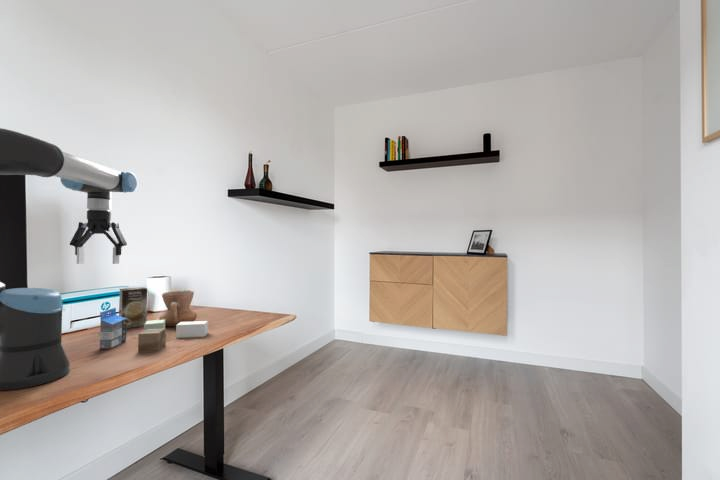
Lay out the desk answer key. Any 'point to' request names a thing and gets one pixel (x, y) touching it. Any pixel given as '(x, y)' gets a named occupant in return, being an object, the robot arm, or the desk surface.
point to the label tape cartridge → (112, 329)
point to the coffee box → (133, 306)
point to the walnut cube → (151, 340)
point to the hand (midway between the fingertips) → (98, 263)
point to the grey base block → (192, 329)
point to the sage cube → (154, 324)
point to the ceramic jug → (178, 307)
